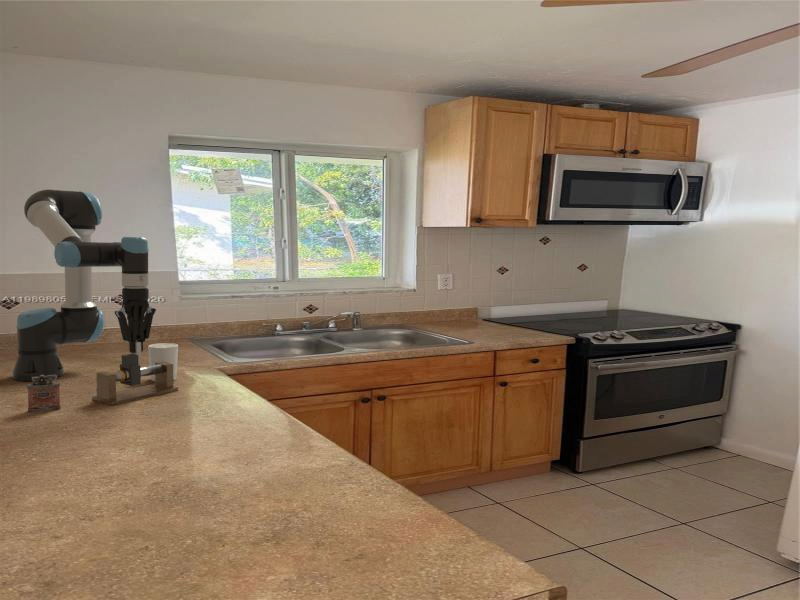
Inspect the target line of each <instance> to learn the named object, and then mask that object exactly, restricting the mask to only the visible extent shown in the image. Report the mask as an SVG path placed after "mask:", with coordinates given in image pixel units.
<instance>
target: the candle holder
mask: <svg viewBox="0 0 800 600" xmlns="http://www.w3.org/2000/svg"><path fill="white" fill-rule="evenodd" d="M147 348H148V359H149V360H148V361H149V366H152V365H155V362H161V361H162V362H167V363H172V364H173V381H175V380H176V379H177V374H178V373H177V372H178V357H179V356H178V355H179V354H178V353H179V344H178V343H173V342H163V343H162V342H161V343H160V342H159V343H153V344H149V345H148V346H147ZM150 380H151V381H152V382H155V375H150Z"/></svg>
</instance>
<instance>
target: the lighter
mask: <svg viewBox="0 0 800 600" xmlns="http://www.w3.org/2000/svg"><path fill="white" fill-rule="evenodd" d="M53 380H54V381H56V380H58V377H57V375H47V376H44V375H40V376H39V377H32V381H31V383H29V384H27V385H26V388H27V403H28V405H27V406H28V407H27V412H28V413H44V412H53V411H59V410H61V409H62V406H61V397H60V395H61V391H60V386H61V383H60V382H58V381H57V382H53Z"/></svg>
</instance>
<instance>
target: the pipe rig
mask: <svg viewBox="0 0 800 600" xmlns="http://www.w3.org/2000/svg"><path fill="white" fill-rule="evenodd" d="M140 369H141V378H145V377H150V376H151V375H155V381H154V382H155V383H153V384H148V385H141V386H137V387H134V388H128V389H123V390H118V391H117V382H118V383H120V382H122V381H126V380H129V379H130V369H129V370H120V369H119V370H117V371H114V372H109V371H99V372H96V373H95V374H96V395H94V396H92V397H91V400H92V401H95V402H98V403H102V404H105V405H109V406H116V405H122V404H126V403H128V402H134V401H138V400H142V399H145V398H146V399H147V398H151V397H155V396H160V395H165V394H168V393H173V392H177V391H179V386H178V387H177V386H174V380H173V364H172V363H167V362H162V361H161V362H155V365H152V366H150V365H148V366H142V367H141V366H140Z"/></svg>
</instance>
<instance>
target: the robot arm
mask: <svg viewBox="0 0 800 600" xmlns="http://www.w3.org/2000/svg"><path fill="white" fill-rule="evenodd" d="M102 211H103V210H102V206H101V203H100V200H99V199H98V196H96V195H95V194H94V193H91V192H85V191H81V190H80V191H76V190H75V191H74V190H59V189H41V190H38V191H36V192H34V193H33V194H31V195H30V196H29V197H28V198H27V199H26V201H25V203H24V206H23V212H24V216H25V218H26V219H27V221H28V222H29V223H30V225H32V226H33V227H36V228H38V229H39V230H40V231H41V232H42V233H43V234H44V236H45V237H46V239H48V241H49V242H50V244H52V245H53V247H54V252H53V253H54V254H53V255H54V259H55V262H56V263H55V264H56V265H58V266H59V267H62V268H64V296H65V297H64V298H65V300H64V302H63V303H62V304H61V305H60V311H57V310H56V308H53V307H46V308H45V307H44V308H36V309H31V310H26V311H23V312H21V313H19V314H18V315H17V318H16V319H17V320H16V330H17V331H16V333H17V354H18V355H17V358H16V361H15V364H14V367H13V371H12V379H13V380H15V381H20V382H21V381H22V382H32V377H39V376H40V375H44V376H47V375H57V378H60V377H62V376H63V375H64V367H63V364H62V362H61V360H60V357H59V355H58V345H68V344H76V343H87V342H88V343H89V342H95V341H96V340H98V339H99V338H100V337H101V335H102V333H103V330H104V325H105V319H104V314H103V312H102V310H101V309H99V308H98V305H97V304H96V303H95V302H94V301H93V278H92V277H93V275H92V274H93V273H92V271H93V269H92V267H93V268H94V267H97V268H98V267H103V268H104V267H121V286H122V287H123V288H122V289H121V297H122V298H121V300H122V305H121V308H120V309H119V310H115V311H114V315H115V317H117V321H118V325H119V329H120V331H121V332H120V333H121V337H122V340H123V341H125V342H128V345H129V346H128V347H129V353H130V354H135V355H138V364H141V363H142V352H143V351H144V343H145V342H146V340H148V339H150V335H151V334H150V333H151V330H152V329H151V328H152V324H153V318H154V315H155V313H156V311H157V309H156V308H154V307H152V306H150V303H149V301H148V300H149V299H150V297H149V295H150V294H149V293H150V292H149V291H150V290H149V288H148V286H149V251H150V250H149V245H148V244H149V243H148V239H147V238H146V237H143V236H139V237H137V236H123V237H122V238H121V241H120V242H115V241H113V242H96V241H92V234H93V233H94V232H96V226H99V225H100V224H101V223H102V218H103V213H102Z"/></svg>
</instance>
